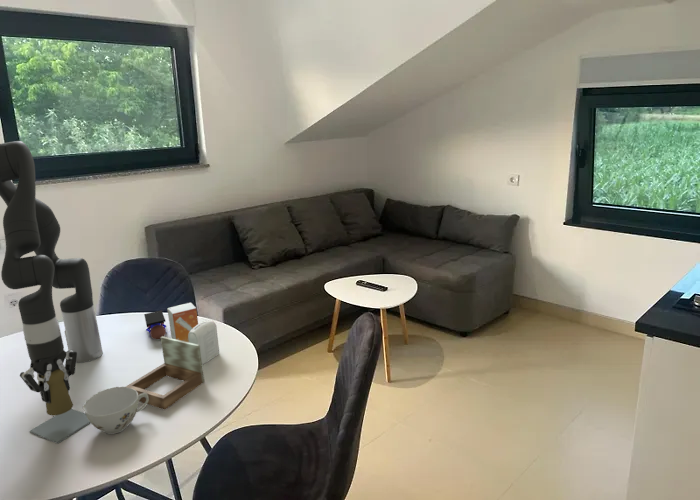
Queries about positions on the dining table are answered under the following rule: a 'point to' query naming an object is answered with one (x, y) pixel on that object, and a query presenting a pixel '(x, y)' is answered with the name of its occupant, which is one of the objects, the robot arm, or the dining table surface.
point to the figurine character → (155, 324)
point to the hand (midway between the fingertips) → (57, 397)
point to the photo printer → (205, 339)
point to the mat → (61, 426)
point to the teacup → (113, 408)
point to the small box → (182, 321)
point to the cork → (58, 394)
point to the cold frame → (173, 373)
